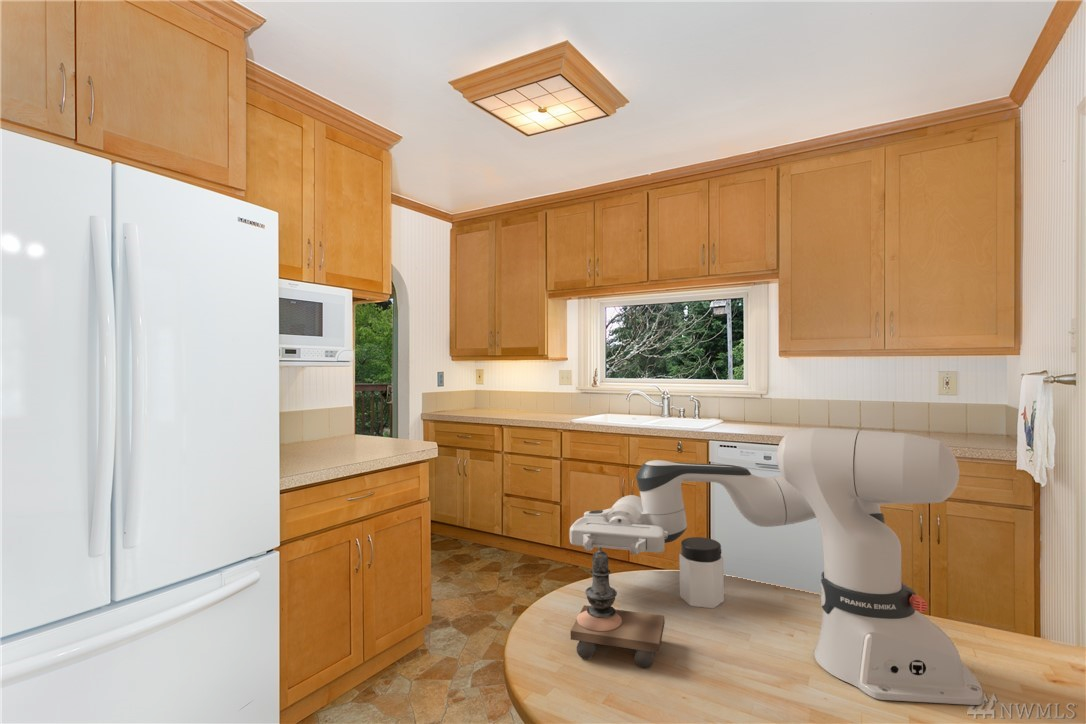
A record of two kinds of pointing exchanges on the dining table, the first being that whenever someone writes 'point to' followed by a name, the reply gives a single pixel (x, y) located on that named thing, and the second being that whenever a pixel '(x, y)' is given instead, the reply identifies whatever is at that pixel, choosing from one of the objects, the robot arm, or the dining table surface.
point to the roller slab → (620, 634)
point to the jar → (701, 572)
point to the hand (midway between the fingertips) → (610, 548)
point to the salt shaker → (600, 588)
